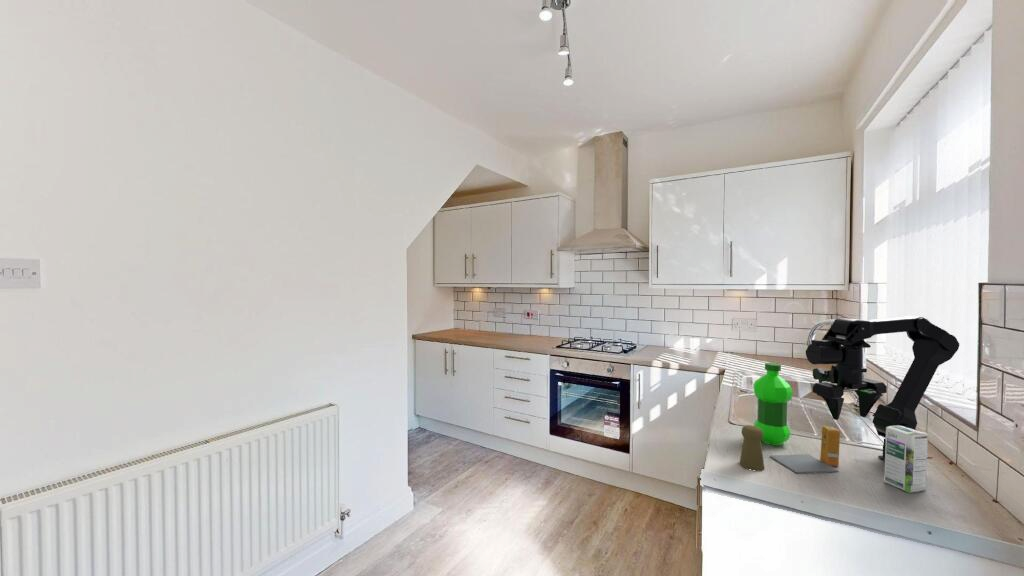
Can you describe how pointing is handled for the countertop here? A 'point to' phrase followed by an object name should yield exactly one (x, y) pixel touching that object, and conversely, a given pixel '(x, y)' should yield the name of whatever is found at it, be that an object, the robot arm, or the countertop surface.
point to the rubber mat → (803, 463)
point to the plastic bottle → (772, 405)
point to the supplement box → (830, 446)
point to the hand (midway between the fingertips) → (849, 418)
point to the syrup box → (906, 458)
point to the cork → (752, 448)
